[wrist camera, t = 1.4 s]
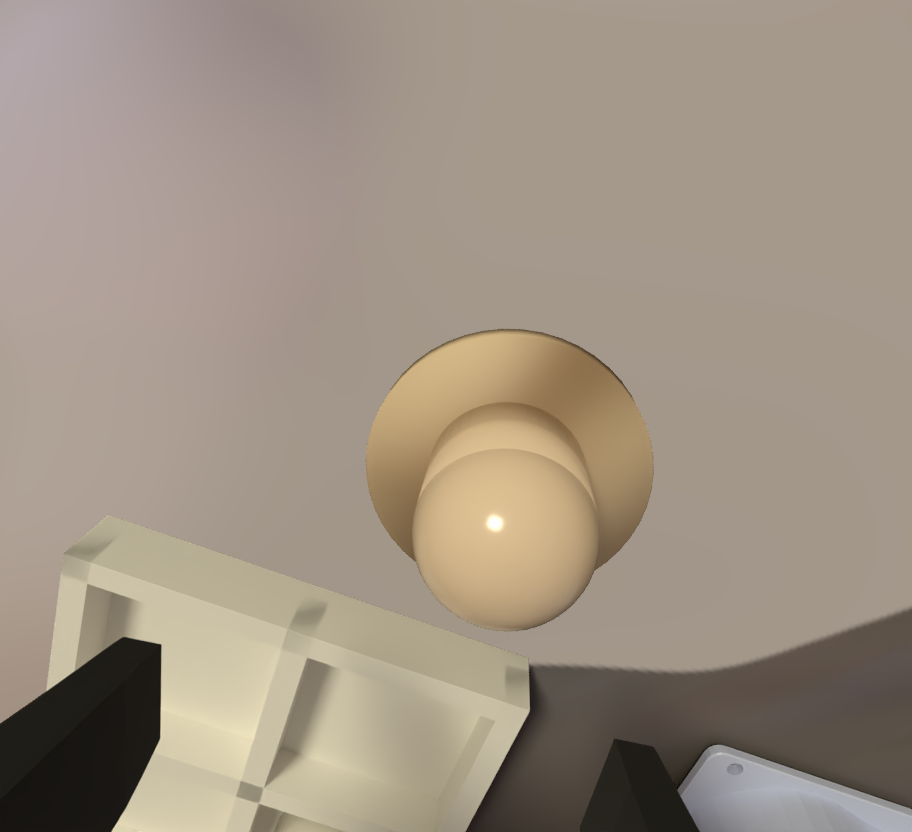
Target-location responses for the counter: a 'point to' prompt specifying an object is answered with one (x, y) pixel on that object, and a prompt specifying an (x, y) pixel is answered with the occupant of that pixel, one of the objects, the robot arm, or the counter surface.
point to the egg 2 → (506, 518)
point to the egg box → (288, 693)
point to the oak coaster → (521, 381)
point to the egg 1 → (300, 825)
